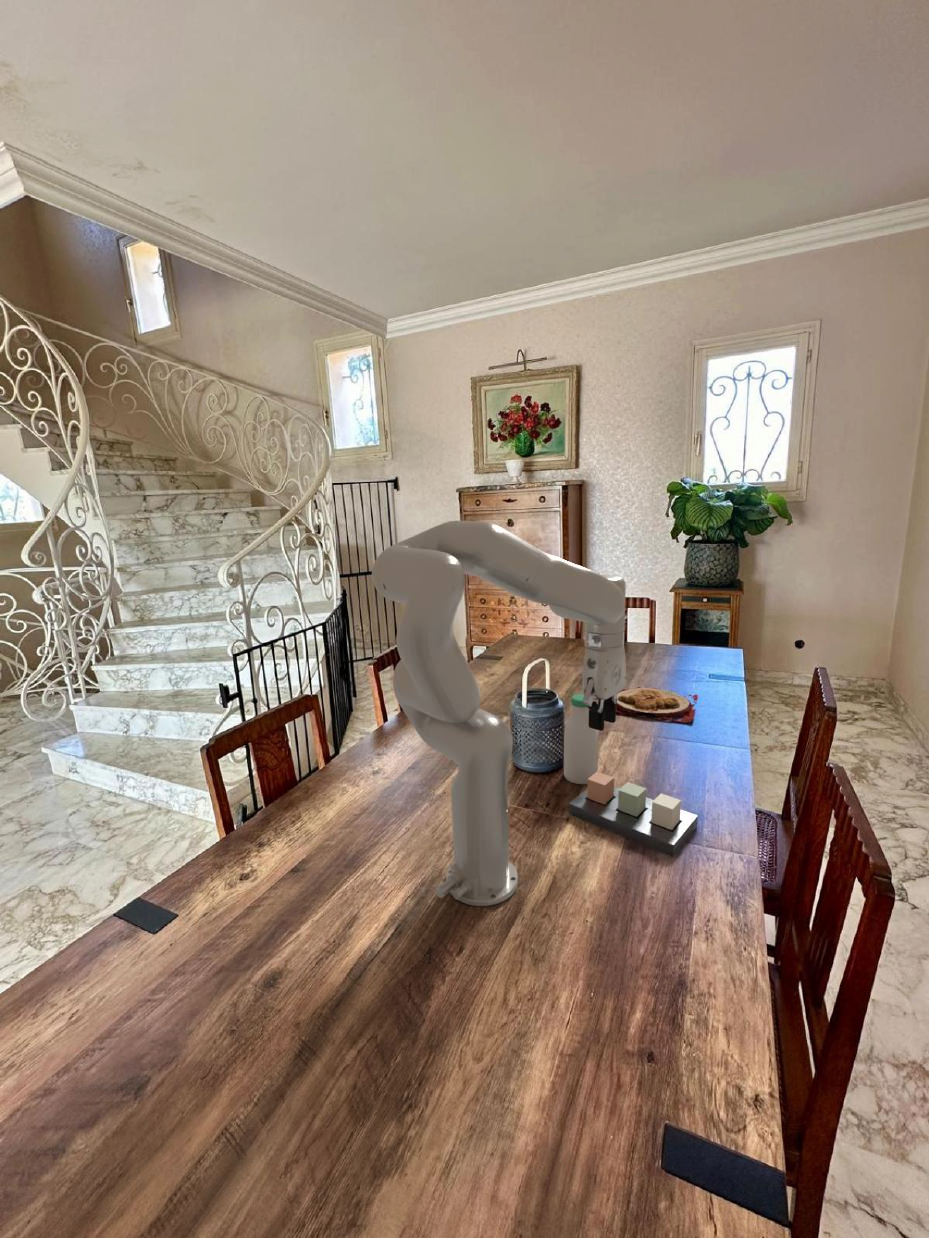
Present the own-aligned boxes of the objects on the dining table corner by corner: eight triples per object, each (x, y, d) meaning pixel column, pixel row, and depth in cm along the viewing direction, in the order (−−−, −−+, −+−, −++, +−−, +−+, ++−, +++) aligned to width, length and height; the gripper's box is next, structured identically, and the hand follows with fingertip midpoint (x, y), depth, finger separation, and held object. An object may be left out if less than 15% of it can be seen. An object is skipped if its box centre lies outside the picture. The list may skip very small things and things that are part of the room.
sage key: (636, 816, 111) (637, 796, 110) (617, 809, 113) (618, 790, 112) (645, 807, 114) (646, 788, 113) (626, 801, 116) (627, 781, 115)
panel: (672, 857, 103) (673, 844, 102) (568, 814, 117) (568, 803, 116) (696, 827, 111) (697, 815, 111) (597, 790, 126) (597, 780, 125)
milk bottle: (597, 786, 127) (599, 704, 123) (563, 784, 129) (563, 702, 124) (596, 770, 135) (598, 691, 130) (564, 767, 136) (564, 690, 132)
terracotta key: (604, 804, 115) (604, 785, 114) (587, 797, 118) (587, 779, 117) (613, 796, 118) (614, 777, 117) (596, 790, 121) (597, 771, 120)
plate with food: (692, 728, 157) (693, 716, 157) (600, 712, 168) (601, 702, 167) (697, 699, 178) (698, 689, 177) (615, 687, 189) (616, 678, 188)
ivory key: (671, 829, 106) (672, 809, 105) (651, 822, 109) (652, 801, 108) (679, 820, 109) (681, 800, 108) (659, 813, 112) (660, 793, 111)
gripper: (600, 651, 102) (598, 744, 106) (641, 632, 114) (637, 716, 118) (564, 645, 106) (564, 734, 111) (607, 627, 119) (605, 707, 123)
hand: (602, 724), depth 114 cm, fingers open, 4 cm apart
